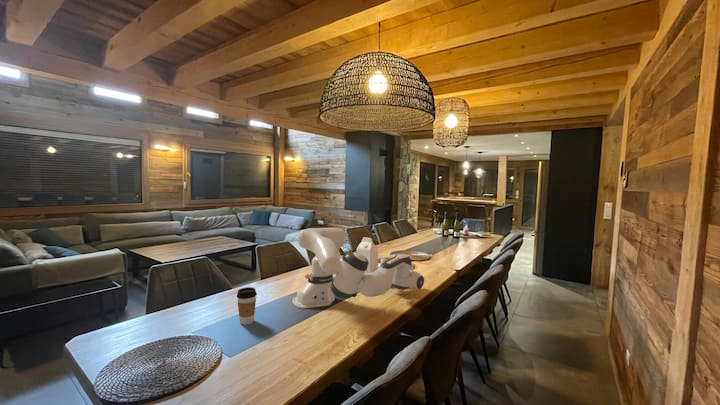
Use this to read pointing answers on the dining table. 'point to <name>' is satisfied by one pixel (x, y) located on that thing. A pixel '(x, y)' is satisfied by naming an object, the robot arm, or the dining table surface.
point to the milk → (369, 253)
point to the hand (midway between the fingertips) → (387, 268)
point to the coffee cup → (246, 305)
